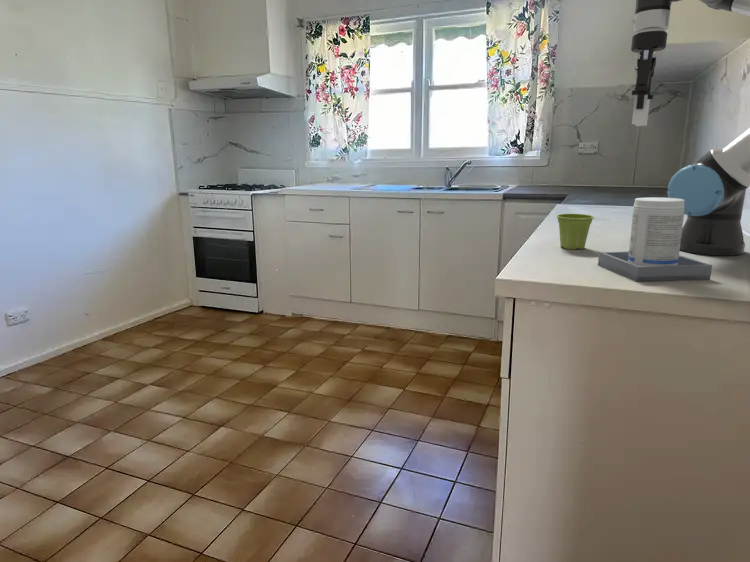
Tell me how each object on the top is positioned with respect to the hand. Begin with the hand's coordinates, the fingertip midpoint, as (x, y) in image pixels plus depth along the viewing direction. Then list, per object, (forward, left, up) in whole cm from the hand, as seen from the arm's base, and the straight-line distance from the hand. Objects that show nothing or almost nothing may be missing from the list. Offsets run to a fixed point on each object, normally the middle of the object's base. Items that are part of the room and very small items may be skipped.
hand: (639, 125), depth 129 cm
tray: (+9, +25, -32) cm, 41 cm away
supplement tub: (+9, +25, -31) cm, 41 cm away
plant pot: (+13, -4, -32) cm, 35 cm away
